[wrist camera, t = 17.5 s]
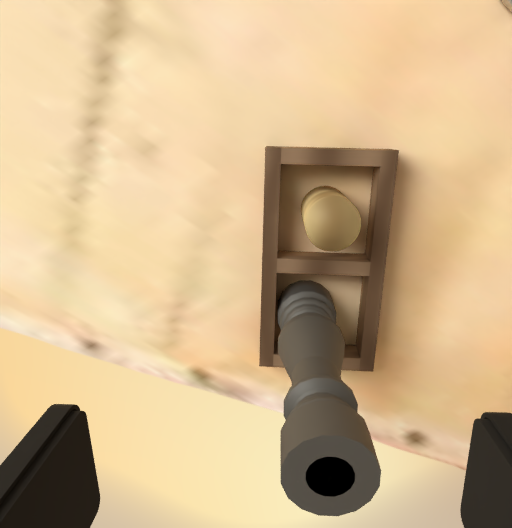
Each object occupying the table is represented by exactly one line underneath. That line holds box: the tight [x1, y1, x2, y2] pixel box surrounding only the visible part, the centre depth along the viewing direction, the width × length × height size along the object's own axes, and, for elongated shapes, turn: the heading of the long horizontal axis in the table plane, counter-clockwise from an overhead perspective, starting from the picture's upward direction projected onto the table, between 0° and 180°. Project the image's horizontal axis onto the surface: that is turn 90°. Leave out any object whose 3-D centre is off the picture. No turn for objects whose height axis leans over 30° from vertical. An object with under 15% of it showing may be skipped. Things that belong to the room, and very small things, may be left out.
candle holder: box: [278, 281, 381, 516], centre depth 36 cm, size 6×6×25 cm
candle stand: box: [259, 146, 399, 371], centre depth 43 cm, size 12×23×8 cm, turn 179°
